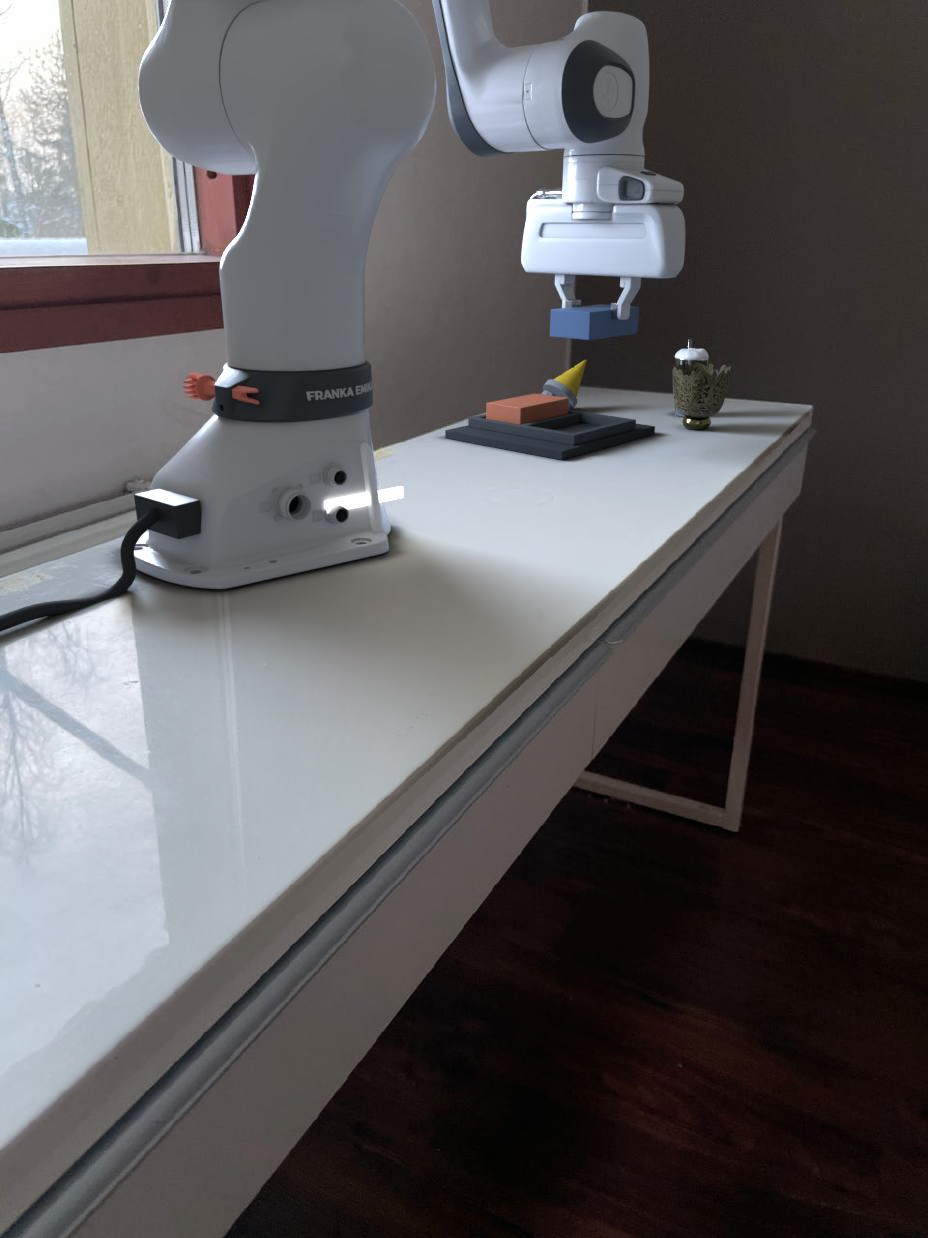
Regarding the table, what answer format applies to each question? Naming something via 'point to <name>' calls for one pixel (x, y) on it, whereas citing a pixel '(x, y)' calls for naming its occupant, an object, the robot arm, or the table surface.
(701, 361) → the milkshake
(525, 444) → the backing plate
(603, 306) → the blue rectangular block
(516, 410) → the orange-red rectangular block
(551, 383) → the yellow cone tip
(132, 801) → the table surface
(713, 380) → the cup
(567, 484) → the table surface
